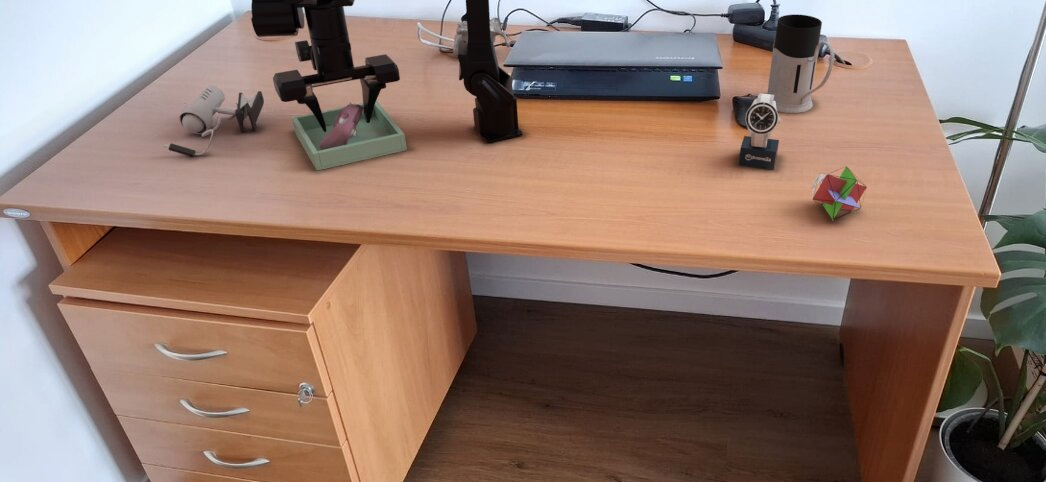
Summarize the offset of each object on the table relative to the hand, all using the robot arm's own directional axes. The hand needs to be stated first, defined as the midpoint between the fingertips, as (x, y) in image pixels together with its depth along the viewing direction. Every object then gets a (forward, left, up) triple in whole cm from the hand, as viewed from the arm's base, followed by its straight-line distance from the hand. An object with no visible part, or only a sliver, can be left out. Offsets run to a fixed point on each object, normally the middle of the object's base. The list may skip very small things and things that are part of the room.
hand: (346, 126), depth 135 cm
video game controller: (+1, +1, -2) cm, 3 cm away
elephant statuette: (-35, -26, -3) cm, 43 cm away
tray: (0, 0, -3) cm, 3 cm away
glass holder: (-74, +26, -3) cm, 79 cm away
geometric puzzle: (-55, +57, -3) cm, 80 cm away
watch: (-55, +39, -3) cm, 68 cm away
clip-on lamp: (+19, -13, -3) cm, 23 cm away
